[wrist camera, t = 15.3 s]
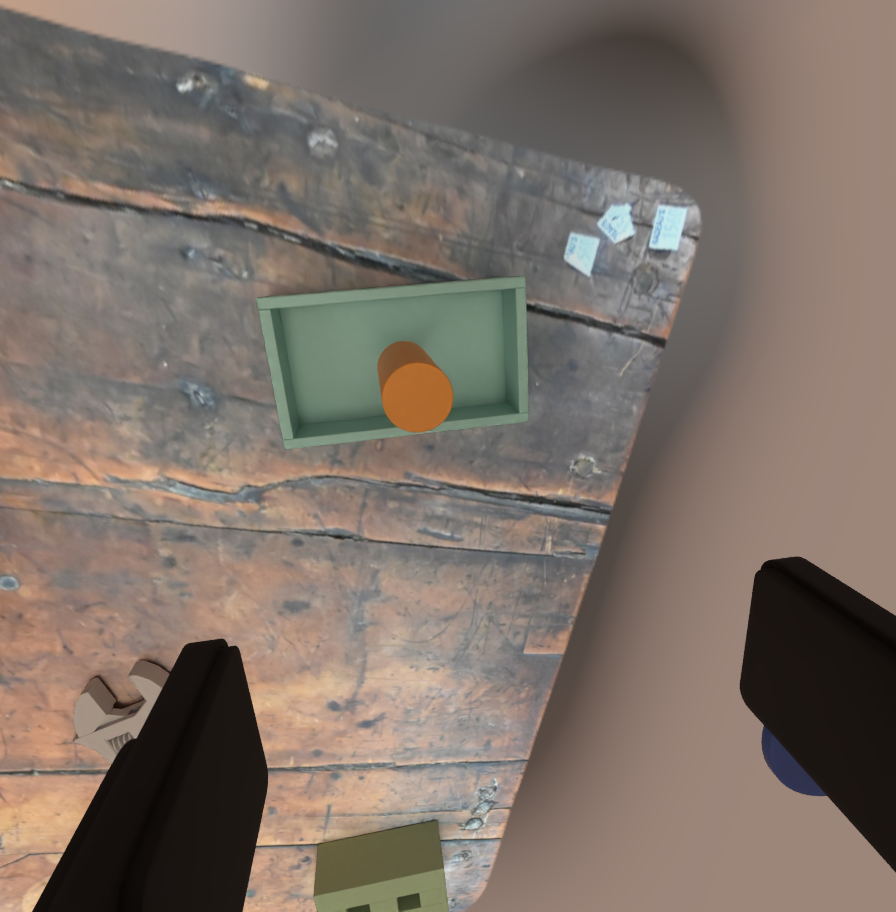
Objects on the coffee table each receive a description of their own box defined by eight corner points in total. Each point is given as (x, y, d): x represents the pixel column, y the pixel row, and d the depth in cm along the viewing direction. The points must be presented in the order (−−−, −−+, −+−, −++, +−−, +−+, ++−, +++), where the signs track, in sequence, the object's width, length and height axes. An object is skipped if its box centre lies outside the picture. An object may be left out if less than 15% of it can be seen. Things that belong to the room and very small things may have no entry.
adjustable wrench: (187, 905, 44) (180, 930, 42) (104, 911, 43) (93, 937, 41) (179, 662, 36) (170, 680, 35) (77, 661, 35) (63, 680, 34)
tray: (268, 295, 30) (255, 297, 27) (508, 276, 32) (525, 276, 28) (292, 432, 33) (284, 450, 29) (513, 407, 34) (529, 421, 31)
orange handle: (419, 330, 31) (451, 358, 20) (423, 376, 32) (455, 428, 21) (372, 334, 31) (377, 365, 20) (378, 381, 32) (386, 436, 21)
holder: (317, 844, 44) (313, 896, 40) (437, 819, 45) (443, 868, 41) (328, 893, 46) (325, 947, 42) (442, 868, 47) (449, 919, 43)
